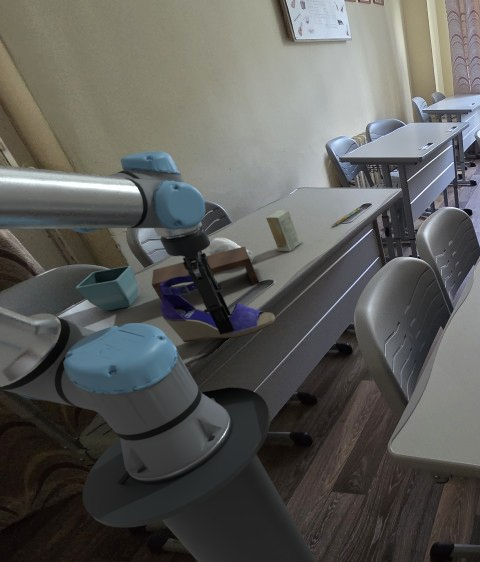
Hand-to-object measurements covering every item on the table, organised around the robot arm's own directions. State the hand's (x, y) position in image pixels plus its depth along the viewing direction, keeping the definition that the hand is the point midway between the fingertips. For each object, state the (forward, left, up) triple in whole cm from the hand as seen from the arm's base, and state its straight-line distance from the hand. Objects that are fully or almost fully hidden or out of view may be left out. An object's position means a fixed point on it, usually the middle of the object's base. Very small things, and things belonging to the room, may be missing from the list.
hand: (225, 323), depth 92 cm
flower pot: (-23, +35, -3) cm, 42 cm away
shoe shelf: (-2, +28, -3) cm, 29 cm away
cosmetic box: (+21, +43, -3) cm, 48 cm away
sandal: (0, +1, -2) cm, 3 cm away
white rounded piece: (+6, +41, +1) cm, 41 cm away
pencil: (+45, +57, -3) cm, 73 cm away
